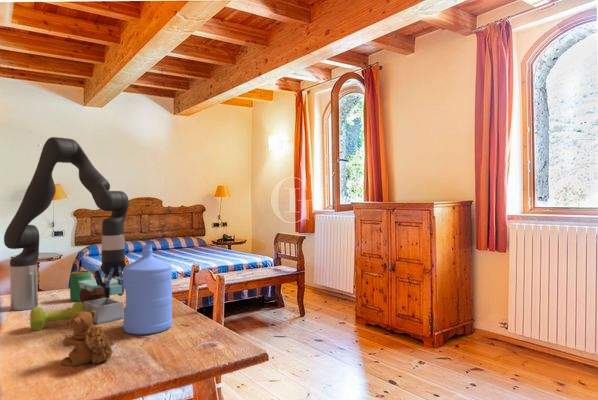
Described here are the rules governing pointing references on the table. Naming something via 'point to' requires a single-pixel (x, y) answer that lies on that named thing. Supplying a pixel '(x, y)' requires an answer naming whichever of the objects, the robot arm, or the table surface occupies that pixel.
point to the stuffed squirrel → (86, 341)
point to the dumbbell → (52, 315)
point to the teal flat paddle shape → (90, 284)
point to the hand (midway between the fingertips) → (113, 296)
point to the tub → (105, 310)
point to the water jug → (147, 295)
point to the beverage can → (75, 286)
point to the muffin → (91, 294)
